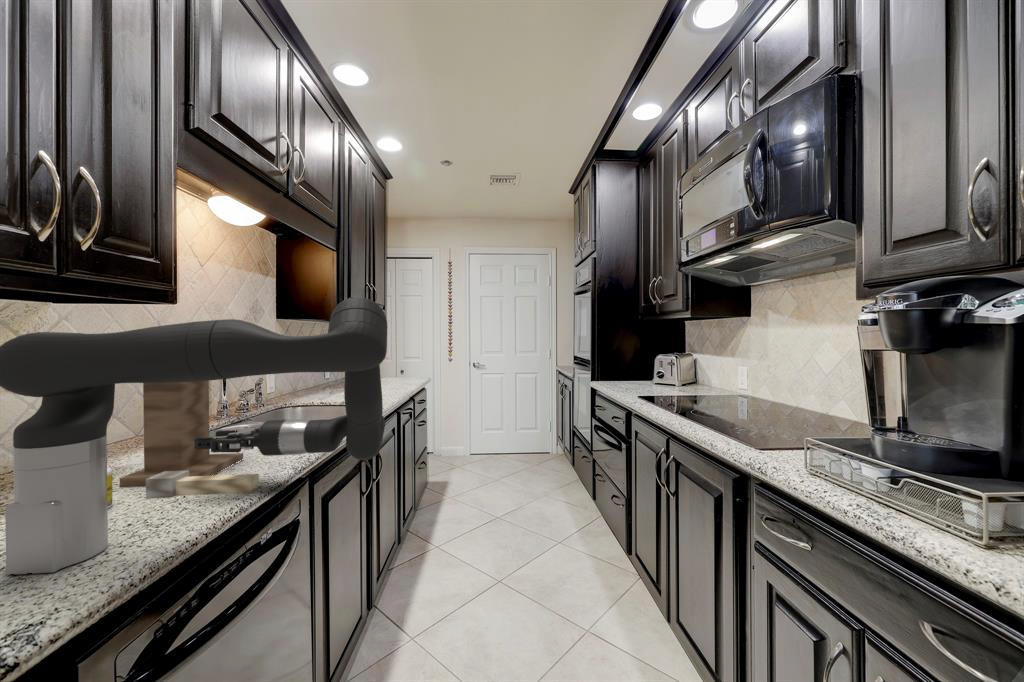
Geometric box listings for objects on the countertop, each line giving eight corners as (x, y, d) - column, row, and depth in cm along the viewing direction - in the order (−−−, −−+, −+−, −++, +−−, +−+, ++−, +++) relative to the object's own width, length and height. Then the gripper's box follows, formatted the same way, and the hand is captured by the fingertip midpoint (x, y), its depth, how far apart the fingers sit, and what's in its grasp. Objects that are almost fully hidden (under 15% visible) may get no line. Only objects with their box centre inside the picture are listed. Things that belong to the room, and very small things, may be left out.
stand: (196, 484, 90) (194, 341, 90) (119, 487, 89) (117, 342, 89) (243, 460, 108) (241, 341, 108) (180, 462, 107) (178, 342, 107)
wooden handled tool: (261, 485, 89) (261, 467, 89) (248, 494, 84) (248, 475, 84) (165, 489, 88) (164, 471, 88) (146, 498, 83) (145, 479, 83)
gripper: (271, 464, 80) (182, 467, 79) (303, 445, 94) (227, 448, 93) (271, 426, 80) (181, 429, 79) (303, 413, 94) (227, 415, 93)
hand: (207, 439), depth 86 cm, fingers open, 6 cm apart
